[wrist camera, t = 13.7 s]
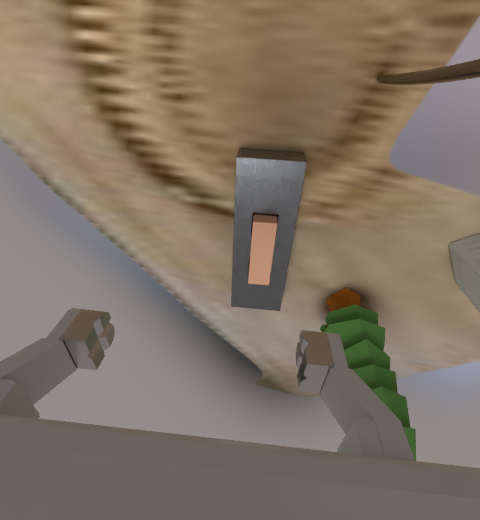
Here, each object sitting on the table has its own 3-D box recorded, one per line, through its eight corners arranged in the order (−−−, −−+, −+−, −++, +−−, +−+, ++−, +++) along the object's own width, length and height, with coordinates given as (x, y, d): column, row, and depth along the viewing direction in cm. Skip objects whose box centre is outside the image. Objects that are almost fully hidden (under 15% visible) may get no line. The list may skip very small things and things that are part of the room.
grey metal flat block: (239, 148, 36) (236, 157, 32) (303, 152, 35) (306, 162, 32) (233, 290, 50) (231, 306, 46) (279, 294, 49) (279, 310, 46)
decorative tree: (382, 295, 48) (500, 544, 23) (349, 328, 53) (416, 559, 29) (332, 275, 46) (402, 520, 22) (303, 311, 51) (333, 540, 27)
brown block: (254, 201, 40) (252, 221, 35) (276, 203, 39) (277, 223, 35) (250, 259, 45) (247, 283, 41) (268, 260, 45) (268, 285, 40)
